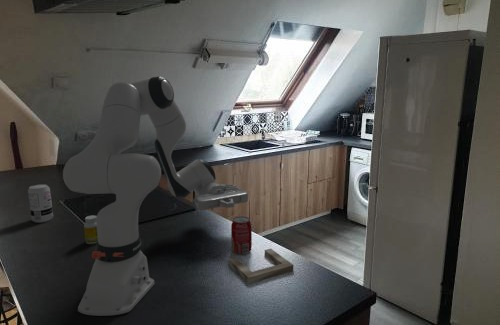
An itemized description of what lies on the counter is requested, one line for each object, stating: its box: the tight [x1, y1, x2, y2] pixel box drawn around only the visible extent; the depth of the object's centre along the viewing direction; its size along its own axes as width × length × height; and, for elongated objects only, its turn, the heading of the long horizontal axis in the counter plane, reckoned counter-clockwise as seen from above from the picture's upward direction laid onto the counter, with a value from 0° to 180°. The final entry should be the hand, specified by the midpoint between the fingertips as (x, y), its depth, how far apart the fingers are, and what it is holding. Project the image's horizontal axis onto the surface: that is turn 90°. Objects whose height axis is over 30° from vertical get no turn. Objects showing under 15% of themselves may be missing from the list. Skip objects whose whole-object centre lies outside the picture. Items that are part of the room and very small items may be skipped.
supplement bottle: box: [83, 215, 98, 245], centre depth 138 cm, size 5×5×10 cm
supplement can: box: [27, 183, 54, 224], centre depth 160 cm, size 8×8×15 cm
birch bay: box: [228, 248, 294, 285], centre depth 119 cm, size 14×16×2 cm
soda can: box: [230, 215, 253, 256], centre depth 129 cm, size 7×7×12 cm
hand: (230, 205), depth 135 cm, fingers closed
